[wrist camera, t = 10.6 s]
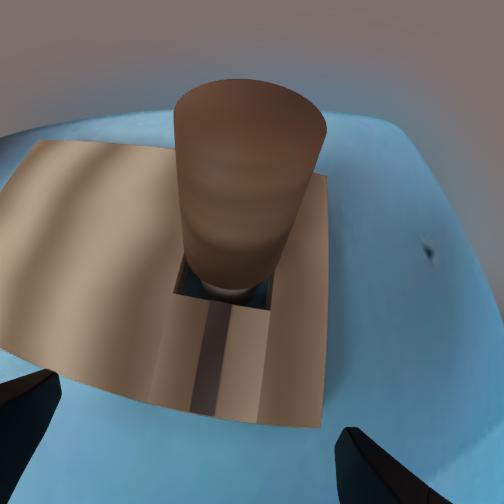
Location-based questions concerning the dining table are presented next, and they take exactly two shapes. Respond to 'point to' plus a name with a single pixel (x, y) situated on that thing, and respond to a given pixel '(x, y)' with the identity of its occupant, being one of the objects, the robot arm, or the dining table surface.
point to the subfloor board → (154, 290)
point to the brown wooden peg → (241, 179)
